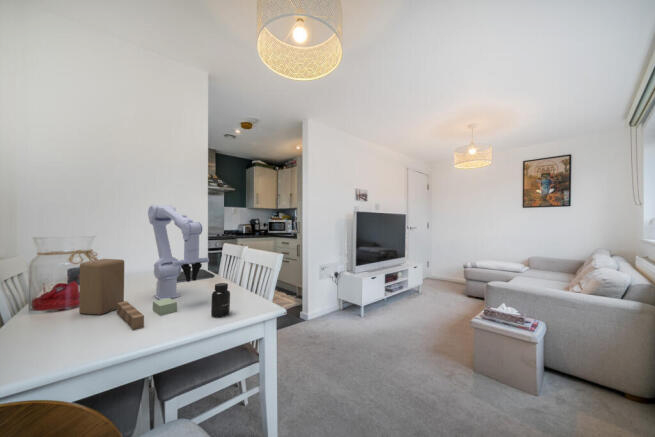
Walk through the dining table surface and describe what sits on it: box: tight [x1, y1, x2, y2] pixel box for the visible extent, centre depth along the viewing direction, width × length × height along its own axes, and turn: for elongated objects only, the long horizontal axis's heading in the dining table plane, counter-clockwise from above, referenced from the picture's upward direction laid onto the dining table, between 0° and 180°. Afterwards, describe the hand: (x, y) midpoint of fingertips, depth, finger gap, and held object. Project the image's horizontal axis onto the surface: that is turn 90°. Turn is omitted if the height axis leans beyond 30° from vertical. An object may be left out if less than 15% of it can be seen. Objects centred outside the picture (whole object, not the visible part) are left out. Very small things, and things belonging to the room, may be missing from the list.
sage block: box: [152, 298, 178, 317], centre depth 101 cm, size 8×6×4 cm
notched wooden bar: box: [116, 300, 145, 331], centre depth 92 cm, size 22×3×4 cm, turn 51°
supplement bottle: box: [210, 282, 231, 318], centre depth 98 cm, size 7×7×12 cm
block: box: [78, 258, 125, 316], centre depth 100 cm, size 10×10×20 cm
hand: (191, 280), depth 108 cm, fingers closed
